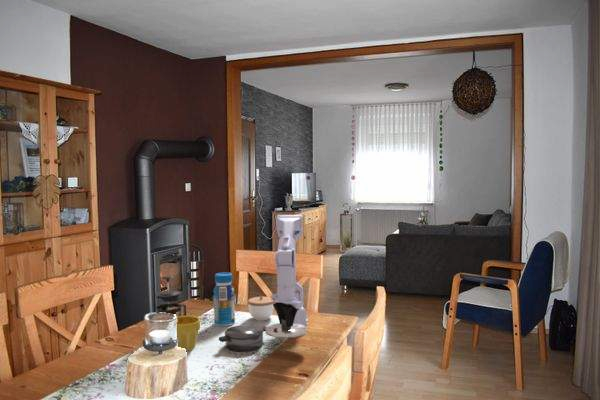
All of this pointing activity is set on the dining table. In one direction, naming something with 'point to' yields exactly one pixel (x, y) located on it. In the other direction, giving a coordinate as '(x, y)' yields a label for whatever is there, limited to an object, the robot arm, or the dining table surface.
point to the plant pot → (187, 331)
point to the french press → (170, 300)
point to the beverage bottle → (224, 300)
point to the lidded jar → (261, 307)
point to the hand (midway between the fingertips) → (286, 325)
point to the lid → (286, 330)
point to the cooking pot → (243, 338)
